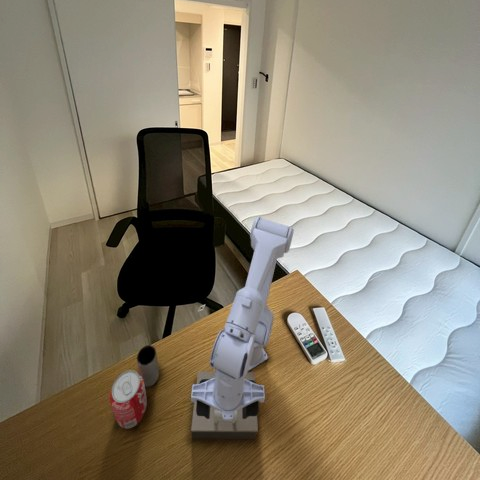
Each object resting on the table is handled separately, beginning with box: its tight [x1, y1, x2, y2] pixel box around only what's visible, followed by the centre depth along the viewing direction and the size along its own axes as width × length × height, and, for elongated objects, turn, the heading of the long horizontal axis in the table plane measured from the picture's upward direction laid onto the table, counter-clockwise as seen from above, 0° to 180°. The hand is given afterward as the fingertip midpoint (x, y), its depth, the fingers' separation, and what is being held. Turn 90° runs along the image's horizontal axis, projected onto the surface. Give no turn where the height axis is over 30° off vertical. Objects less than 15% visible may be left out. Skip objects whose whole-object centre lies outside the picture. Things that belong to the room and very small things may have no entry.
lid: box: [190, 370, 259, 433], centre depth 57 cm, size 11×15×4 cm
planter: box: [136, 344, 160, 388], centre depth 63 cm, size 4×4×10 cm
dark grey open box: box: [191, 432, 258, 440], centre depth 59 cm, size 10×15×5 cm
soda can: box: [109, 369, 148, 430], centre depth 56 cm, size 7×7×12 cm
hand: (226, 412), depth 52 cm, fingers open, 7 cm apart
